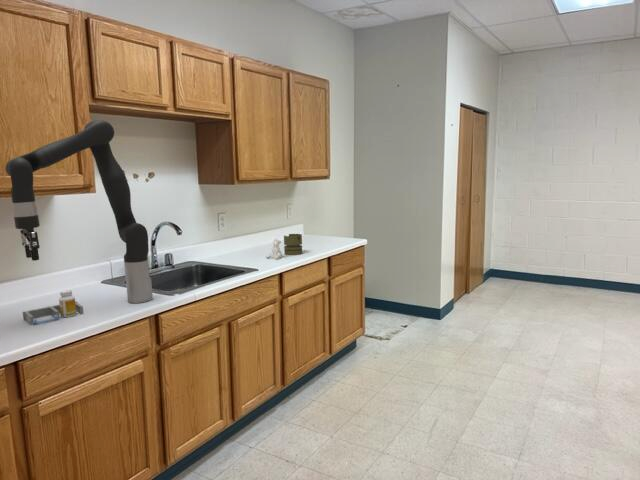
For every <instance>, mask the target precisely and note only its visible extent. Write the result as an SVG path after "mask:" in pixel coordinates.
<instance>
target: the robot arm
mask: <svg viewBox="0 0 640 480" xmlns="http://www.w3.org/2000/svg"><path fill="white" fill-rule="evenodd" d="M114 136H115V130H114V127H113V125H112V124H111V123H110V122H108V121H106V120H102V119H101V120H100V119H96V120H93V121H89V122H88V123H86V125H85V126H84V128H83V130H81V131H78V132H77V133H75V134H72V135H69V136H67V137H65V138H62V139H59V140H56V141H52V142H50V143H47V144H45V145H43V146H41V147H39V148H37V149H35V150H32V151H31V152H28V153H25V154H22V155H20V156H17V157H14V158H12V159H10V160H8V161H7V162H6V164H5V167H4V168H5V172H6V174H7V175H8V176H10V180H11V189H10V195H11V202H12V213H13V218H14V219H13V220H14V221H13V222H14V227H15V229H17V230H20V235H21V236H20V237H21V245H22V246H23V248H24V252H25V257H26V258H27V259H31V261H33V262H34V261H39V260H40V255H39V249H40V243H39V237H38V232H37V231H35V228H40V225H41V224H40V218H39V210H38V207H37V204H36V203H37V202H36V197H35V192H34V172H37V171H39V170H41V169H45V168H48V167H51V166H52V165H55V164H57V163H60V162H61V161H63V160H65V159H68V158H69V157H71V156H74V155H75V154H77V153H79V152H82V151H84V150H86V149H89V150H90V151H91V154H92V156H93V158H94V161H95V163H96V167H97V168H96V169H97V171H98V173H99V177H100V179H101V183H102V186H103V189H104V191H105V194H106V196H107V199H108V202H109V205H110V207H111V210H112V212H113V215H114V218H115V223H116V226H117V232H118V235H119V238H120V240H121V241H122V242H124V243H125V254H124V255H123V262H124V264H123V265H124V275H125V284H126V285H125V286H126V297H127V298H126V299H127V302H128V303H130V304H139V303H140V304H141V303H145V302H149V301H150V300H153V298H154V297H153V286H152V285H153V284H152V278H151V276H150V273H149V259H148V255H149V251H150V249H149V234H148V230H147V228H146V227H145V226H144V224H141V223H138V222H137V220H136V218H135V216H134V213H133V211H132V204H131V203H132V201H131V200H132V198H131V197H132V196H131V188H130V186H129V185H130V184H129V183H128V178H127V176H126V173H125V171H124V170H123V169H122V167H121V166H120V164H119V163H118V161H117V159H116V158H115V156H114V155H113V151H112V148H111V145H110V142H111V141H112V140H113V139H114V138H115V137H114Z"/></svg>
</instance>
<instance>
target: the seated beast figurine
mask: <svg viewBox="0 0 640 480" xmlns="http://www.w3.org/2000/svg"><path fill="white" fill-rule="evenodd" d="M281 243H282V241H281V240H279V239H278V238H274V239H273V241H272V248H271V253H268V254H267V255H265V259H267V260H269V259H270V260H274V261H279V260H280V259H281V258H282V256H283V253H282V251H281V249H280V244H281Z"/></svg>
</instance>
